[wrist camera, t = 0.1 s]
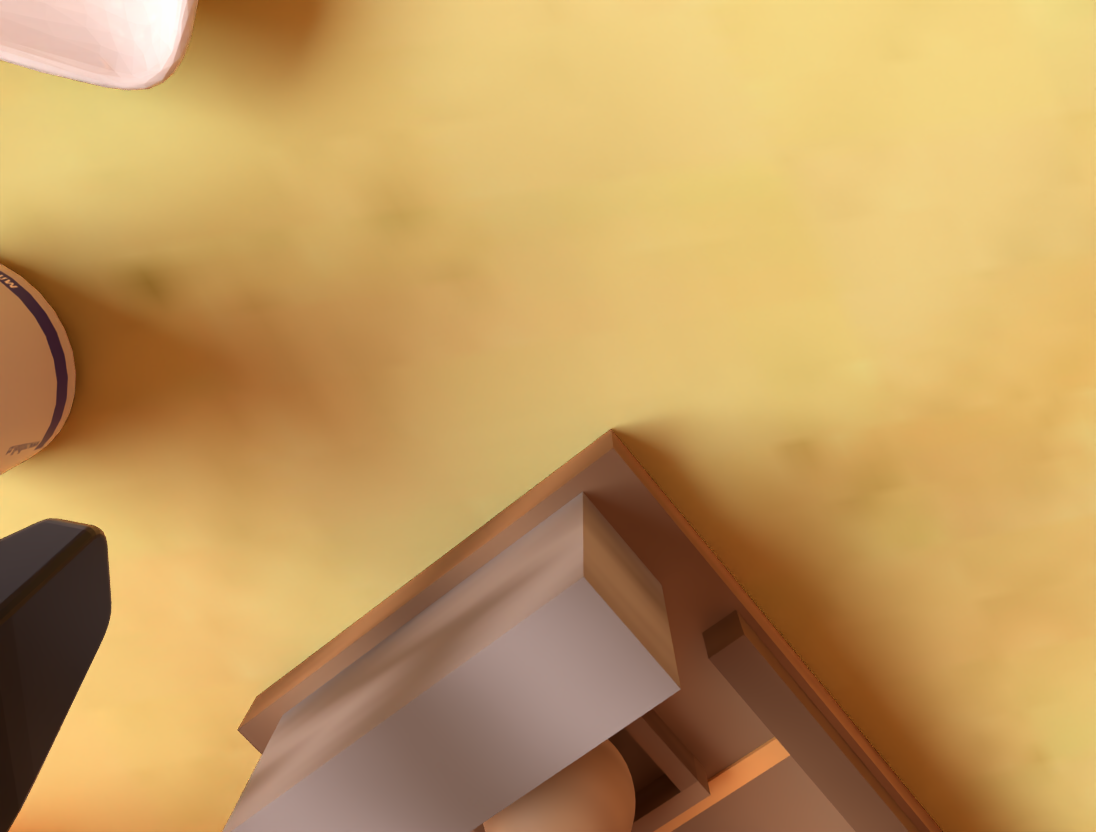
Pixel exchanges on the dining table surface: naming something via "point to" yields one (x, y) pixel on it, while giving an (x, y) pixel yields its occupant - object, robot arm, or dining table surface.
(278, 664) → the dining table surface
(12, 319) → the energy drink
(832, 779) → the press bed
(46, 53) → the salad plate
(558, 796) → the tan ball
